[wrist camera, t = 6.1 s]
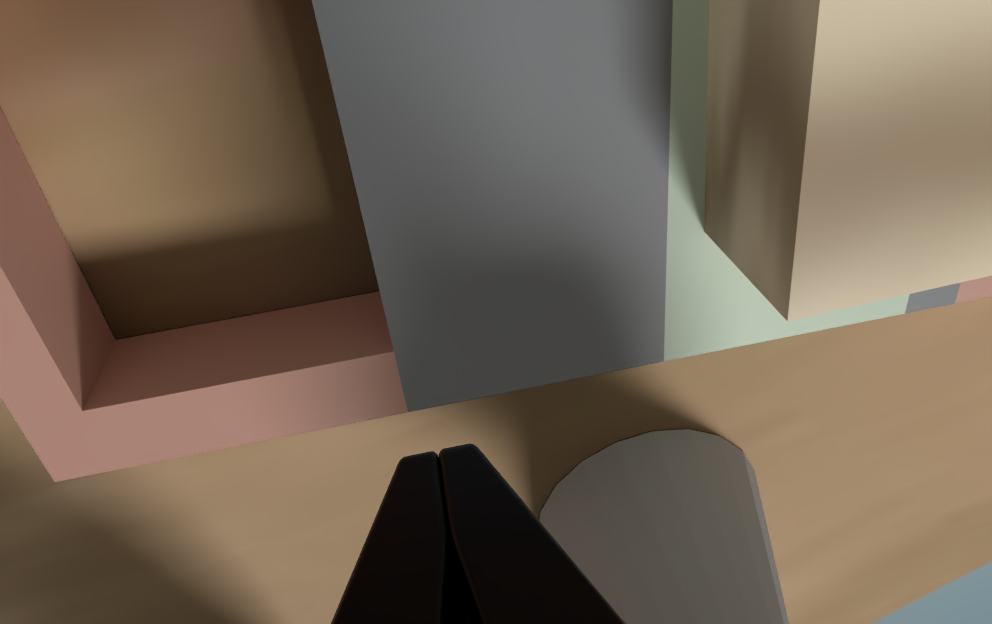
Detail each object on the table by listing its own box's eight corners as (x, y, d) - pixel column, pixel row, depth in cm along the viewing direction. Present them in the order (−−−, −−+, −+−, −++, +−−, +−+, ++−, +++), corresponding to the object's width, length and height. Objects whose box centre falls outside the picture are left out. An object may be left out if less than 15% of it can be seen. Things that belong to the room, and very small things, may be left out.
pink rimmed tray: (1160, 201, 24) (1256, 243, 21) (89, 405, 21) (54, 482, 18) (1388, -320, 16) (1575, -350, 14) (-201, -118, 14) (-323, -109, 11)
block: (935, 182, 18) (1068, 258, 15) (704, 232, 18) (787, 321, 14) (993, -90, 15) (1181, -71, 11) (710, -37, 14) (819, 0, 11)
